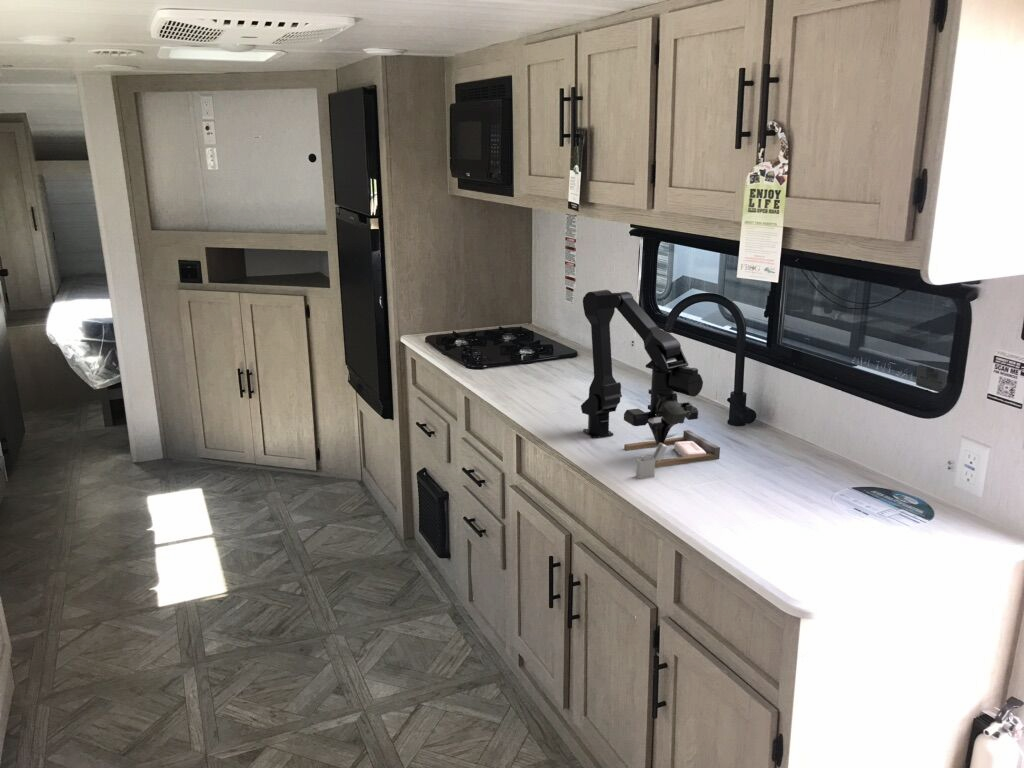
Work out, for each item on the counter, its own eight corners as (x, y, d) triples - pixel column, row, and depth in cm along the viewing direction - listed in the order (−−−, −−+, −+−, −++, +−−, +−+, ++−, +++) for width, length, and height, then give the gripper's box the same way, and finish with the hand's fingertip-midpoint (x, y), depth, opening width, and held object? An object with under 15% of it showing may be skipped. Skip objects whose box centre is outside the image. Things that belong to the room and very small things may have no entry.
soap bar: (693, 448, 227) (693, 440, 227) (706, 460, 219) (706, 451, 218) (673, 449, 227) (674, 441, 226) (686, 461, 218) (686, 452, 217)
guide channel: (624, 448, 226) (624, 437, 225) (687, 440, 232) (688, 430, 232) (652, 467, 212) (653, 456, 212) (719, 458, 219) (720, 447, 218)
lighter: (638, 478, 205) (640, 446, 203) (635, 476, 207) (637, 444, 205) (665, 475, 208) (667, 444, 205) (662, 473, 209) (664, 441, 207)
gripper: (645, 399, 206) (642, 461, 210) (712, 392, 212) (708, 452, 216) (623, 387, 216) (621, 446, 220) (688, 381, 222) (684, 438, 226)
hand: (659, 446), depth 221 cm, fingers closed
